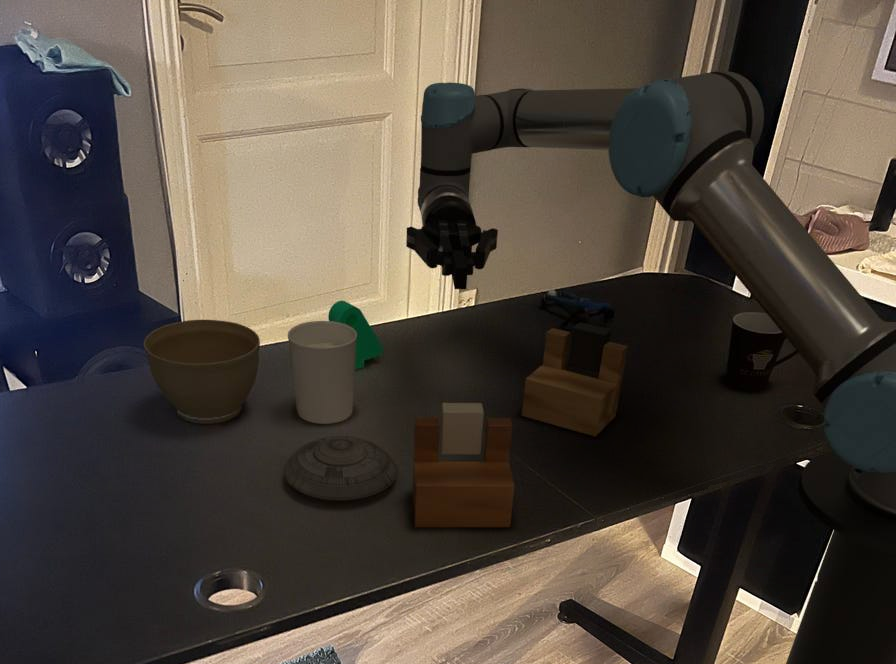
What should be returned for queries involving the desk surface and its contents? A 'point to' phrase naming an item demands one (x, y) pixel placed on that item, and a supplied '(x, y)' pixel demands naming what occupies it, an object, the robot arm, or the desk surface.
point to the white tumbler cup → (323, 370)
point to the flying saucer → (340, 469)
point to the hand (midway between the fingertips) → (461, 278)
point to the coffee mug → (753, 351)
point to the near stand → (462, 480)
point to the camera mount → (357, 331)
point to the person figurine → (578, 305)
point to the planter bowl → (204, 366)
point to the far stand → (574, 388)
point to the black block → (588, 346)
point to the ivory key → (461, 428)
